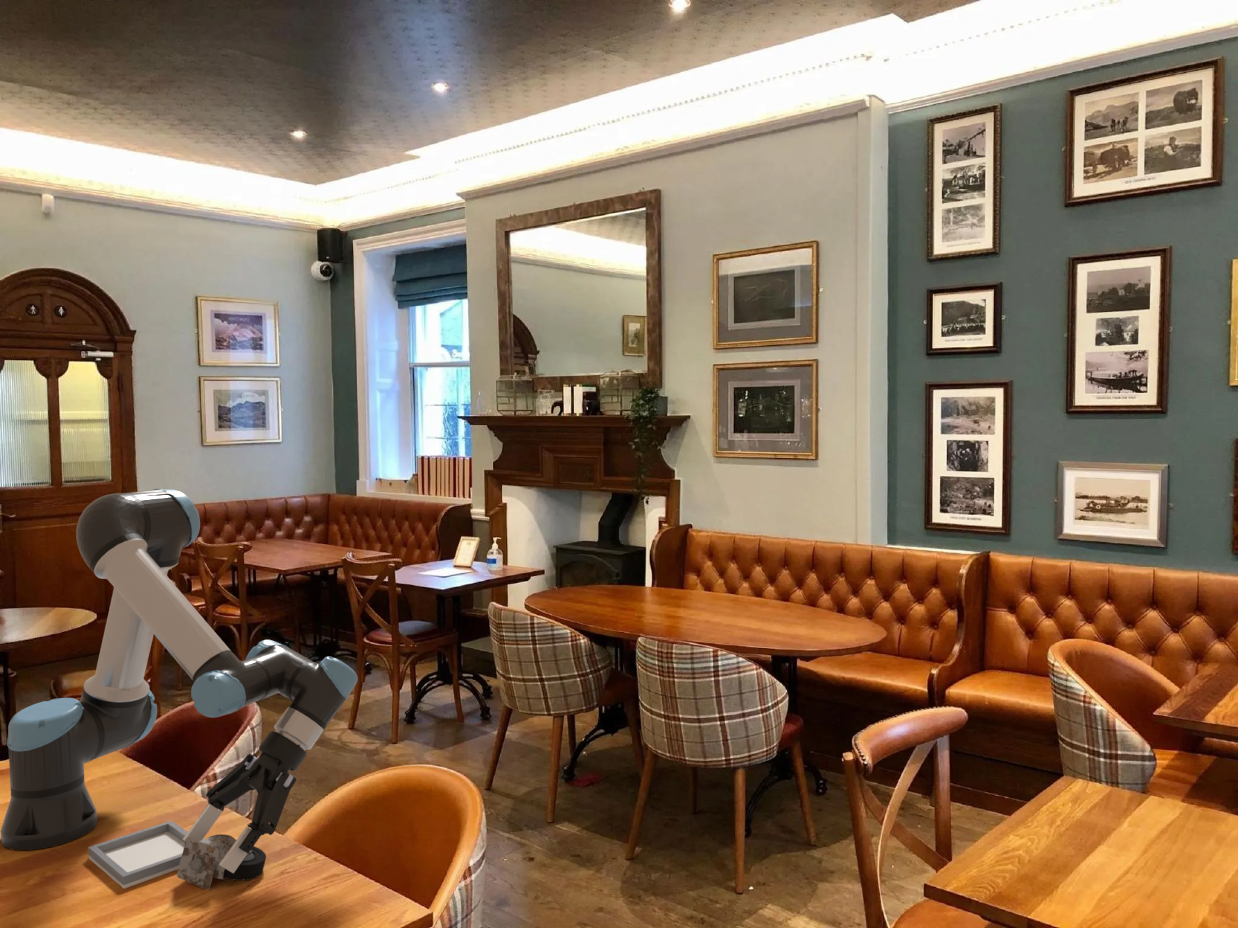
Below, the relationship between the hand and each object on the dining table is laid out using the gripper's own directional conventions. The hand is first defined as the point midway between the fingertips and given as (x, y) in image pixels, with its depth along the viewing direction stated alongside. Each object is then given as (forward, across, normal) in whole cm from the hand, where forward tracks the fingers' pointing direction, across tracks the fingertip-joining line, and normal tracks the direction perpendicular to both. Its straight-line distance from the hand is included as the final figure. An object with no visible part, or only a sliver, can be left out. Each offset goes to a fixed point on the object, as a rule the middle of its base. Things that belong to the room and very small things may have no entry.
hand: (207, 855), depth 150 cm
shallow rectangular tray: (+5, +17, -1) cm, 18 cm away
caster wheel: (+1, +1, -6) cm, 6 cm away
